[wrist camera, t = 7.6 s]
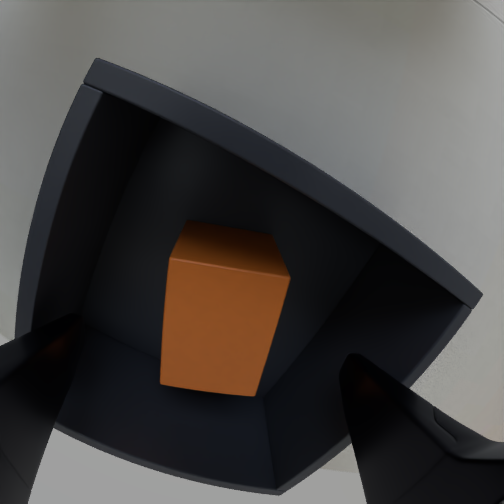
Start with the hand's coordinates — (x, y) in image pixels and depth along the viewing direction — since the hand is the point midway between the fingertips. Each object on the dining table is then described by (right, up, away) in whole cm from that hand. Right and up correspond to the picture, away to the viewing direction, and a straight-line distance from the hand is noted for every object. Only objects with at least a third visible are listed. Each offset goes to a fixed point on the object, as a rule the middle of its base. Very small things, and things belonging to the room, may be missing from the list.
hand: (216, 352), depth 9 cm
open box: (0, +2, +5) cm, 5 cm away
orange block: (0, +2, +4) cm, 5 cm away
